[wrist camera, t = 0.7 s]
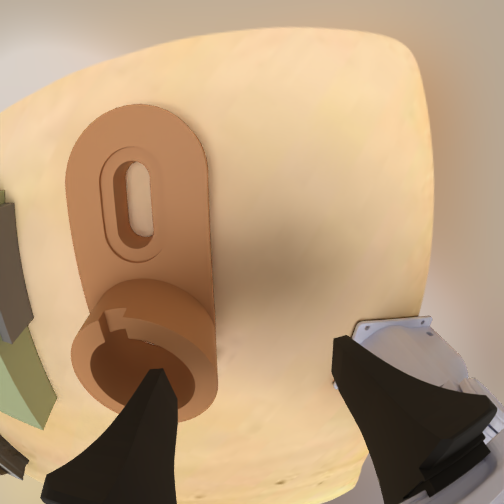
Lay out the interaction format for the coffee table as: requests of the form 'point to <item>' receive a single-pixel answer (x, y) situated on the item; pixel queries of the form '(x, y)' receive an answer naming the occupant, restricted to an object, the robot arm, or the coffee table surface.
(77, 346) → the bracket
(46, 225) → the coffee table surface
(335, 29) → the coffee table surface
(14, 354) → the green box with button
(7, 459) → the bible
